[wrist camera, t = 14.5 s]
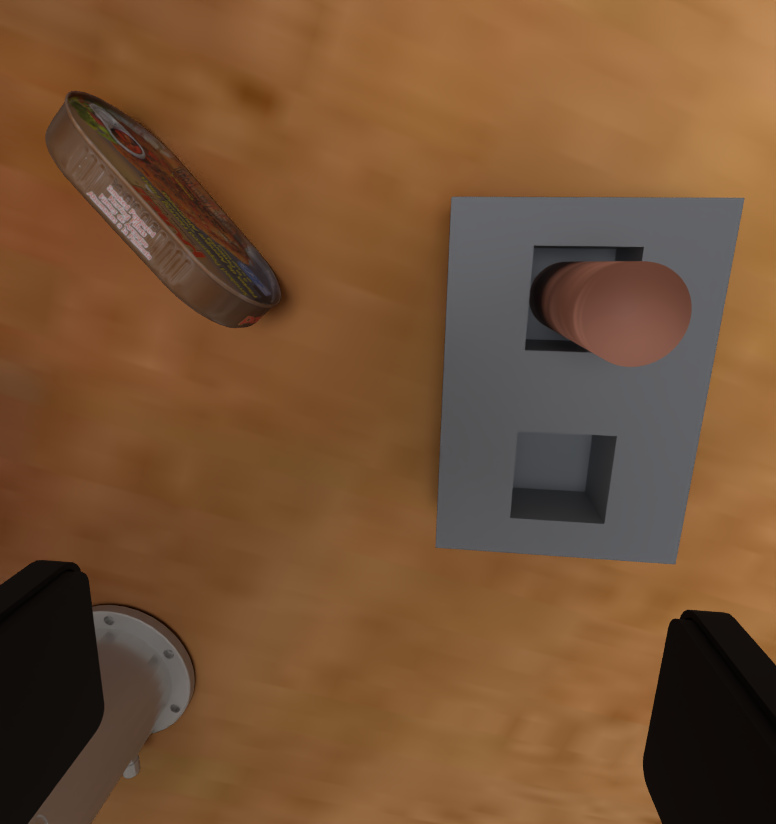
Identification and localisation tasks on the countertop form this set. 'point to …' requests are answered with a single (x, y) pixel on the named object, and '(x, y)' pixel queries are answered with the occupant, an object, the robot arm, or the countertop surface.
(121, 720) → the robot arm
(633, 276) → the pin
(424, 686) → the countertop surface
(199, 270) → the tin
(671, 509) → the bore block
